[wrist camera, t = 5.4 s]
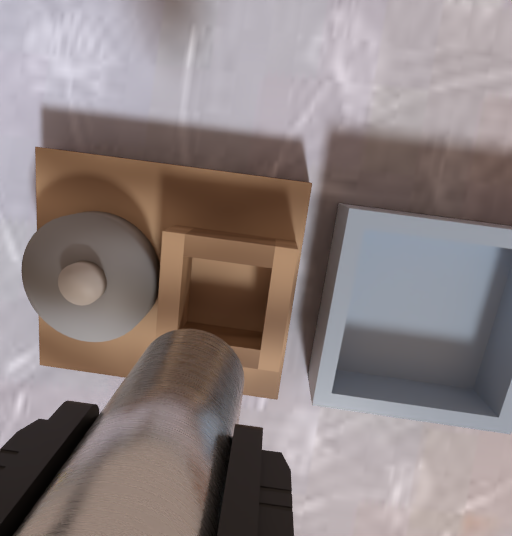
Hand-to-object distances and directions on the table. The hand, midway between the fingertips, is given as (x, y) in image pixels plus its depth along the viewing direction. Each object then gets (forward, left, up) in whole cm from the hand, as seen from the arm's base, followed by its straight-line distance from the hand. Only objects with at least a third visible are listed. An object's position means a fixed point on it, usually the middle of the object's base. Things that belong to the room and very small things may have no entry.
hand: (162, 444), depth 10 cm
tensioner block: (0, -4, -16) cm, 16 cm away
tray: (0, +12, -16) cm, 20 cm away
